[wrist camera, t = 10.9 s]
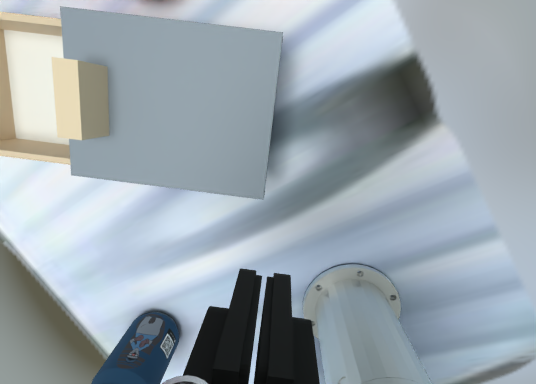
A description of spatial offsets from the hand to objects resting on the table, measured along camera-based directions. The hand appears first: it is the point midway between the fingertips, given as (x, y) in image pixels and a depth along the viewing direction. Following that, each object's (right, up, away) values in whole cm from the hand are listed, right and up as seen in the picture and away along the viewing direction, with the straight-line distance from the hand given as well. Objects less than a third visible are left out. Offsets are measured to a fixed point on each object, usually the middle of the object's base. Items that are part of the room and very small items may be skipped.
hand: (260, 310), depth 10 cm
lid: (-9, +12, +19) cm, 24 cm away
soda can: (-15, -16, +34) cm, 40 cm away
